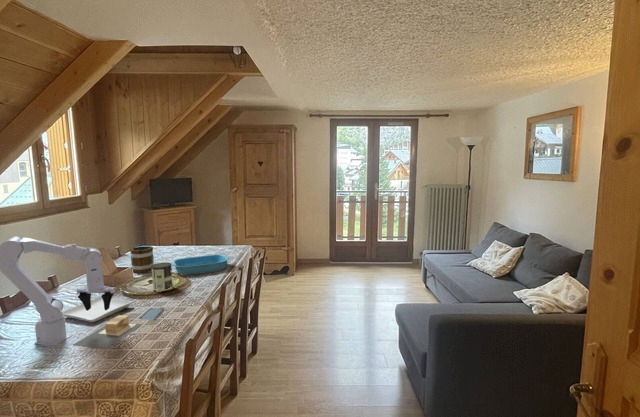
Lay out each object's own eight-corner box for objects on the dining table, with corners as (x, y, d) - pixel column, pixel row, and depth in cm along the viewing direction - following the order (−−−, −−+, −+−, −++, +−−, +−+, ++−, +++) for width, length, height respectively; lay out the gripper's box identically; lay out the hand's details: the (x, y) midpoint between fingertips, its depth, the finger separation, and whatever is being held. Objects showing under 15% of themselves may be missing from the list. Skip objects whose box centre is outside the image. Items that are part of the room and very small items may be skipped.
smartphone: (134, 323, 149) (148, 308, 164) (134, 325, 149) (149, 310, 164) (152, 322, 149) (164, 308, 164) (152, 324, 150) (164, 309, 164)
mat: (72, 346, 131) (72, 344, 131) (112, 322, 150) (112, 321, 150) (106, 349, 128) (106, 348, 128) (142, 325, 148) (142, 324, 148)
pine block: (119, 324, 148) (118, 315, 147) (128, 324, 147) (128, 315, 147) (105, 333, 140) (105, 323, 139) (115, 333, 139) (115, 324, 139)
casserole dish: (225, 261, 244) (225, 252, 243) (233, 270, 225) (233, 259, 224) (169, 269, 227) (169, 259, 226) (173, 279, 207) (172, 268, 206)
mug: (153, 272, 220) (151, 249, 219) (129, 274, 216) (128, 251, 214) (156, 263, 239) (154, 243, 237) (134, 266, 234) (133, 244, 232)
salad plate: (59, 319, 154) (58, 312, 154) (103, 301, 174) (102, 295, 174) (92, 327, 147) (91, 319, 146) (134, 307, 167) (133, 301, 166)
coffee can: (170, 284, 198) (169, 261, 196) (174, 290, 189) (173, 265, 187) (151, 288, 192) (149, 264, 190) (154, 293, 184) (152, 268, 182)
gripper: (70, 281, 136) (73, 313, 138) (107, 281, 136) (109, 313, 138) (81, 275, 143) (84, 306, 145) (116, 275, 143) (119, 306, 145)
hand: (97, 309), depth 142 cm, fingers open, 7 cm apart
